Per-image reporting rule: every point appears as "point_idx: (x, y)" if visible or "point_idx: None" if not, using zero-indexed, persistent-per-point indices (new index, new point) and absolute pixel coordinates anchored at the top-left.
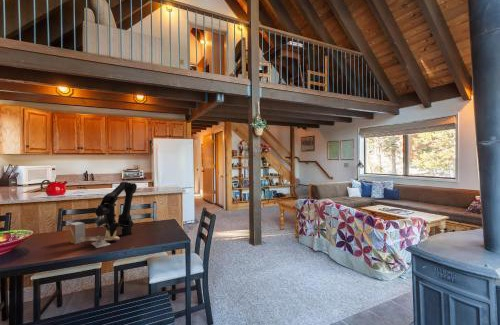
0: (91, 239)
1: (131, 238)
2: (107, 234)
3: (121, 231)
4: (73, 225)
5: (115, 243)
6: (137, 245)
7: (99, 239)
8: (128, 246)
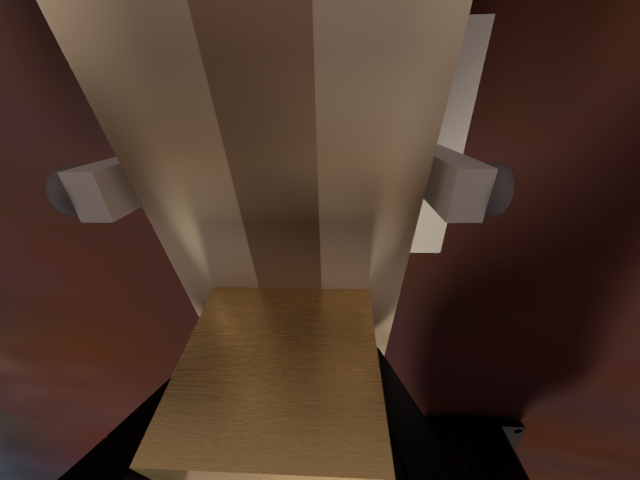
0: None
1: None
2: (233, 351)
3: (492, 468)
4: None
5: None
6: (17, 387)
7: (114, 115)
8: (11, 340)
